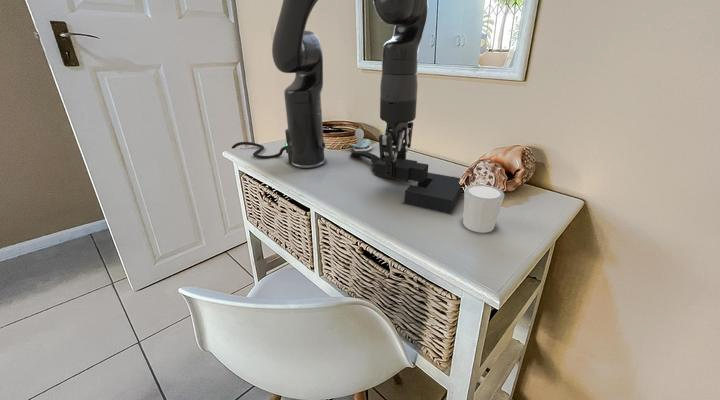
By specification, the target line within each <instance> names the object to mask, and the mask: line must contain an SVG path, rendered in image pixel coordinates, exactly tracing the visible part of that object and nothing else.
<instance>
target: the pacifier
mask: <svg viewBox="0 0 720 400" xmlns="http://www.w3.org/2000/svg"><path fill="white" fill-rule="evenodd" d="M354 136H355V138H356V143H350V142H349V143H348V145H349V146H351V147H353V152H355V151H366V152H369V151H372V149H373V146H372V145H371V139H369V138H366V139H365V138H364V136H365V132H364V131H363V129H361V128H358V129H356V130H355V131H354Z"/></svg>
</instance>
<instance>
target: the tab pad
mask: <svg viewBox="0 0 720 400" xmlns="http://www.w3.org/2000/svg"><path fill="white" fill-rule="evenodd" d="M385 165H386V162H385V161H381V160H379V161H377V162H376V163H375V172H374V176H375V177H381V178H386V179H389V178H388V177H386V176H385ZM428 173H429V164H428V163H423V162H418V160H414V159H407V158H406V159H401V158H396V176H395V177H394V178H390V179H391V180H396V181H402V182H410V181H413V182H417V183H418V182H423V181H424V180H425V179H426V178H427V176H428Z"/></svg>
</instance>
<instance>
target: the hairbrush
mask: <svg viewBox="0 0 720 400" xmlns="http://www.w3.org/2000/svg"><path fill="white" fill-rule="evenodd" d="M350 155H351V157H363V158H366V159H368V160H370V161H371V166H372V171H373V172H374V173H375V163H376V162H377V161H379V160H380V156H378V155H376V154H375V153H372V152H369V151H351V153H350Z"/></svg>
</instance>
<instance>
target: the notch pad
mask: <svg viewBox="0 0 720 400" xmlns="http://www.w3.org/2000/svg"><path fill="white" fill-rule="evenodd" d="M460 178H461V177H457V176H450V175H446V174H439V173H434V172H428V176H427V178H426V179H425V180H424V181H423V182H417V185H413V184H410V185H409V186H407V188H406V189H405V190H404V199H403V200H404V202H403V203H404V204H406V205H410V206H415V207H420V208H424V209H429V210H433V211H437V212H442V213H446V214H452V212H453V210H454V209H455V207H456V205H457V203H458V202H459V200H460V198H461V196H462V195H463V194H464V191H463V190H462V192H461V187H462V185H460V184H459V183H458V182H459V180H460Z"/></svg>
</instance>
